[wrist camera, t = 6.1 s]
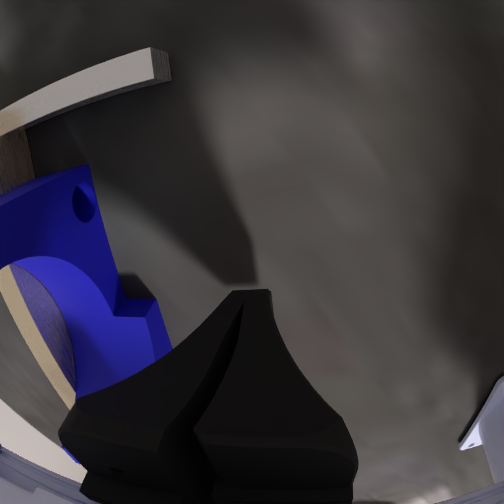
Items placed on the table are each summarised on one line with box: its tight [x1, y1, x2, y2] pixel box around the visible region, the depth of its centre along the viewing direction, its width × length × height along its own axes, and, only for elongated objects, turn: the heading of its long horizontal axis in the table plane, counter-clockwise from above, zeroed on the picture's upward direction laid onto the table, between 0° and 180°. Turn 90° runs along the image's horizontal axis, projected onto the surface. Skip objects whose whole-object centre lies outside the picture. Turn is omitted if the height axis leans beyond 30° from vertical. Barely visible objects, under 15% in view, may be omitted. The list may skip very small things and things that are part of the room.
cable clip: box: [0, 164, 173, 464], centre depth 11 cm, size 12×4×6 cm, turn 7°
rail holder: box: [0, 47, 172, 410], centre depth 12 cm, size 8×18×3 cm, turn 7°
